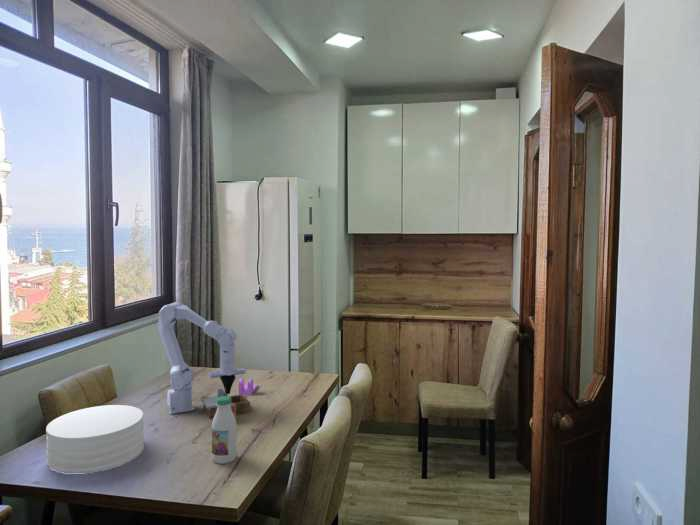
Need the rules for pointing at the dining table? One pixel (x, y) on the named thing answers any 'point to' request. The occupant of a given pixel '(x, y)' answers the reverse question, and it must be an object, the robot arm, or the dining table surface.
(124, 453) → the plate stack
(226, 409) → the milk bottle
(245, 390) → the bracket
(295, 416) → the dining table surface
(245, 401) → the brown tray
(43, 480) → the dining table surface
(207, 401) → the lid
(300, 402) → the dining table surface
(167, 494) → the dining table surface
